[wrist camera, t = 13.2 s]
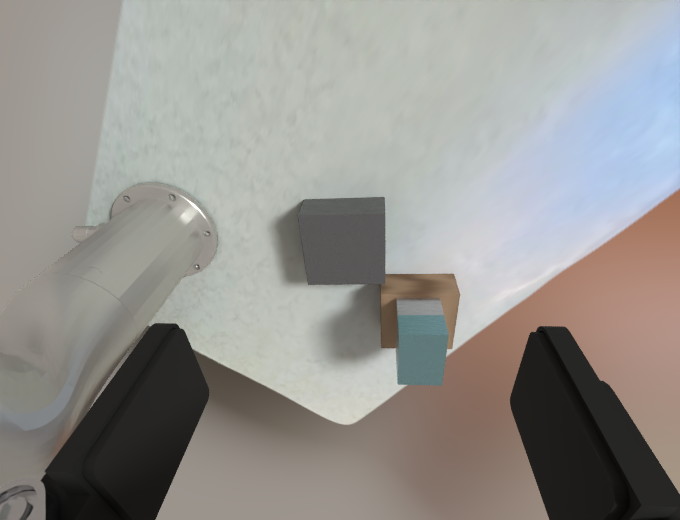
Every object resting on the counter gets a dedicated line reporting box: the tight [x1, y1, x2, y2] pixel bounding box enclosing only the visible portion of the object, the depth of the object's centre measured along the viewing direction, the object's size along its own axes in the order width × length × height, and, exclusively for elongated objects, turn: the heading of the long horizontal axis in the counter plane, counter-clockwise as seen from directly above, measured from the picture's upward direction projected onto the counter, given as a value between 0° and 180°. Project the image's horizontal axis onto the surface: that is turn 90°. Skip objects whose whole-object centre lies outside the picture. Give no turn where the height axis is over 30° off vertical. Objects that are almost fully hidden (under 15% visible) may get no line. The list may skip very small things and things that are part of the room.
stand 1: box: [298, 197, 385, 285], centre depth 41 cm, size 9×9×4 cm
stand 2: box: [381, 274, 460, 349], centre depth 46 cm, size 9×9×4 cm
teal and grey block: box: [395, 298, 449, 385], centre depth 42 cm, size 8×5×6 cm, turn 4°
